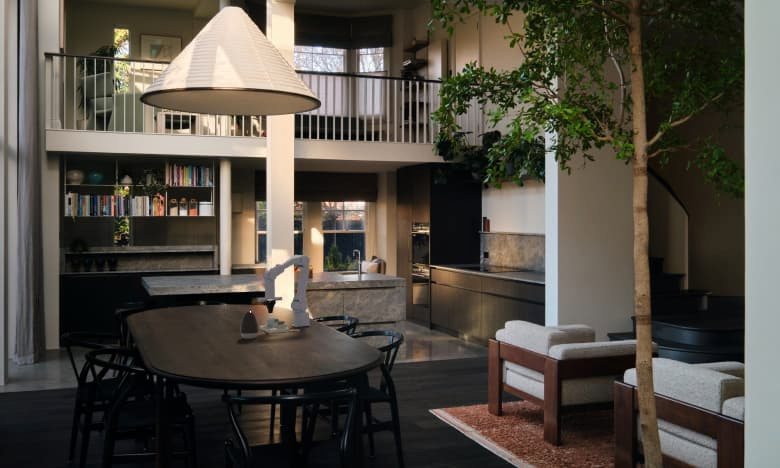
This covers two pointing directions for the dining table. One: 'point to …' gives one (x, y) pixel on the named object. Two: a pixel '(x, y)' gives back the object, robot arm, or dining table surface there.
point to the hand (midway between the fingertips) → (270, 313)
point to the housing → (275, 328)
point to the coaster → (294, 330)
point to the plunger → (280, 322)
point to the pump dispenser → (249, 326)
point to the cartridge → (270, 322)
